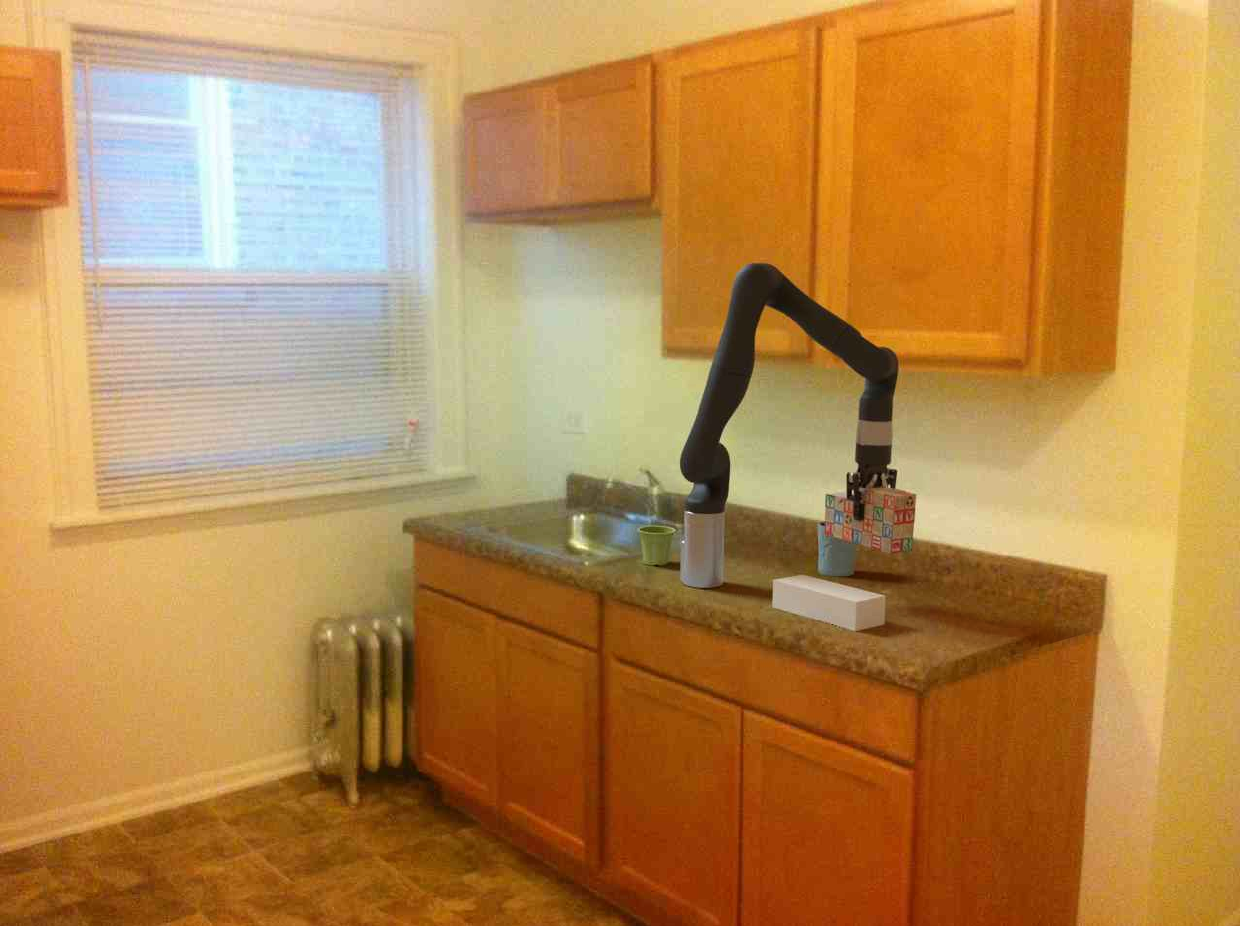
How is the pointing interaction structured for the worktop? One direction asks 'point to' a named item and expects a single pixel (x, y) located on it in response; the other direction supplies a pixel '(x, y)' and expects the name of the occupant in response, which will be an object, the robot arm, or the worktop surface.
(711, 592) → the worktop surface
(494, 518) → the worktop surface
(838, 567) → the blue cup
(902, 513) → the stack of blocks
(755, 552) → the worktop surface
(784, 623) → the worktop surface
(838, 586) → the block
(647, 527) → the plant pot
